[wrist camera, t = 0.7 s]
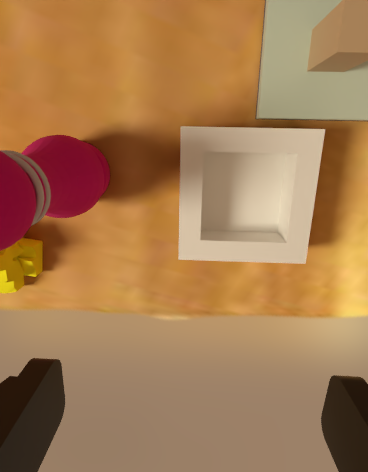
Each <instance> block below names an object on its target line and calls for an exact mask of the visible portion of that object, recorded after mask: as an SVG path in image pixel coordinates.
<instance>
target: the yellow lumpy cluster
mask: <svg viewBox="0 0 368 472" xmlns="http://www.w3.org/2000/svg"><path fill="white" fill-rule="evenodd" d="M42 255H43V241H41V240H34V239H27V238H24V236H23V237H22V238H21V239H20V240H18V241H17V242H16V243H15V244H13V245H12V246H10V247H8V248H6V249H4V250H1V251H0V293H11V292H16V291H18V290H19V289H20V288H22V287H23V286H24V275H27V276H33V277H36V276H38V275H39V274H40V273H41V272H42Z"/></svg>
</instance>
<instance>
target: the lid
mask: <svg viewBox="0 0 368 472" xmlns="http://www.w3.org/2000/svg"><path fill="white" fill-rule="evenodd" d="M256 119H293V120H346V121H368V0H266V9H265V21H264V33H263V45H262V57H261V69H260V81H259V93H258V105H257V117H256Z"/></svg>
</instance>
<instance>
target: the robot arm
mask: <svg viewBox="0 0 368 472" xmlns="http://www.w3.org/2000/svg"><path fill="white" fill-rule="evenodd" d="M64 407H65V394H64V385H63V376H62V366H61V362H60V360H57V359H39V358H33V359H31V360H30V361H29V362H28V364H27V365H26V366H25V367H24V369H23V370H22V372H21V373H20V374H19V376H18V377H14V376H10V377H8V378H7V379H6V380H4V381H3V382H2V383H0V472H37V471H38V469H39V467H40V465H41V463H42V461H43V459H44V457H45V455H46V452H47V450H48V448H49V446H50V444H51V441H52V440H53V437H54V435H55V433H56V431H57V429H58V427H59V424H60V422H61V419H62V416H63V412H64ZM321 423H322V430H323V435H324V438H325V441H326V443H327V445H328V448H329V450H330V452H331V455H332V457H333V459H334V462H335V464H336V466H337V469H338V471H339V472H368V384H367V383H366V382H365V380H364V379H363V378H361V377H351V376H332V377H331V379H330V381H329V386H328V390H327V394H326V398H325V403H324V407H323V411H322V417H321Z"/></svg>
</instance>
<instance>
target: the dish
mask: <svg viewBox="0 0 368 472" xmlns="http://www.w3.org/2000/svg"><path fill="white" fill-rule="evenodd" d="M324 135H325V129H293V128H242V127H191V126H181V144H180V205H179V260H207V261H239V262H270V263H302V264H306V257H307V250H308V243H309V237H310V230H311V223H312V216H313V209H314V203H315V196H316V189H317V182H318V175H319V169H320V162H321V155H322V148H323V141H324Z"/></svg>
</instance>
